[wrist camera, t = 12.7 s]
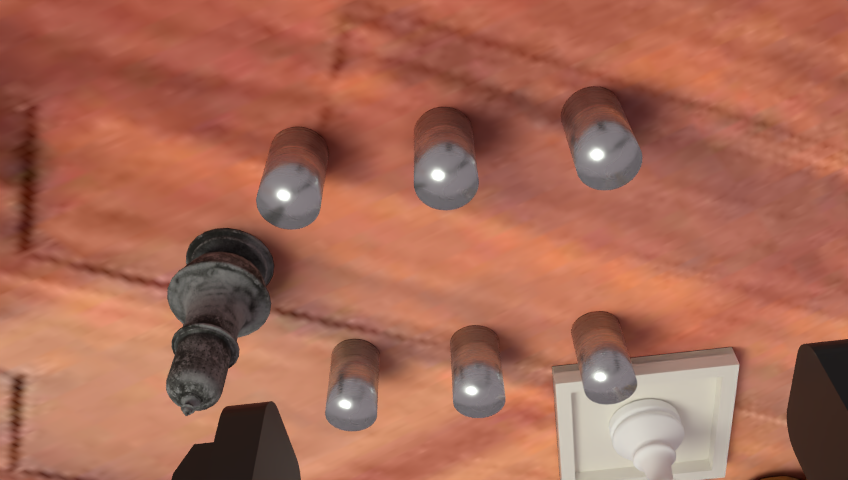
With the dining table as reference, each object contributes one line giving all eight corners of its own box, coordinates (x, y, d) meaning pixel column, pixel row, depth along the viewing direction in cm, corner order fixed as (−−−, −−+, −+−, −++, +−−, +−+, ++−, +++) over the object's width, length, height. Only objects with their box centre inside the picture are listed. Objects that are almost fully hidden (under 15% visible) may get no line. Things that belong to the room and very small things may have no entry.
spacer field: (621, 83, 42) (642, 129, 38) (620, 344, 54) (636, 401, 50) (263, 131, 44) (248, 181, 40) (337, 375, 55) (331, 433, 51)
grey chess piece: (244, 210, 47) (201, 358, 37) (296, 280, 50) (269, 433, 40) (161, 245, 48) (99, 396, 39) (217, 311, 51) (172, 466, 42)
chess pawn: (656, 387, 55) (694, 499, 48) (691, 423, 58) (732, 536, 50) (594, 418, 57) (621, 531, 50) (630, 453, 59) (661, 565, 52)
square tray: (731, 347, 54) (739, 364, 53) (718, 459, 61) (724, 477, 60) (552, 366, 55) (555, 384, 54) (559, 475, 62) (562, 492, 61)
